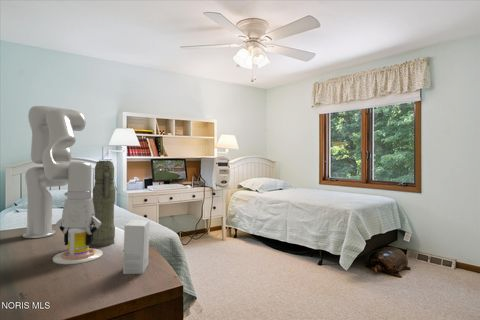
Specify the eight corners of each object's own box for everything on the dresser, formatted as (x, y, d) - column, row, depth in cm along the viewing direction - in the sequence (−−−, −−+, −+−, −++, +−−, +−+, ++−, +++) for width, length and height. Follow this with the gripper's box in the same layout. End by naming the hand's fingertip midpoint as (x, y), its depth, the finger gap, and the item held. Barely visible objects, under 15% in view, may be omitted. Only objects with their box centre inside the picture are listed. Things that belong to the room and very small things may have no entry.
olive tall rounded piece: (96, 248, 119) (98, 161, 119) (88, 242, 128) (89, 160, 127) (119, 244, 125) (120, 161, 125) (109, 238, 133) (110, 160, 133)
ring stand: (47, 256, 109) (47, 251, 109) (94, 247, 120) (94, 243, 120) (59, 267, 97) (59, 263, 97) (109, 257, 109) (109, 252, 109)
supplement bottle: (92, 253, 111) (93, 218, 111) (79, 258, 105) (79, 222, 105) (77, 251, 113) (78, 217, 113) (63, 257, 106) (63, 221, 106)
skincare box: (129, 265, 101) (130, 219, 101) (149, 265, 102) (150, 219, 102) (122, 274, 93) (123, 224, 93) (144, 274, 93) (144, 224, 93)
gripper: (49, 196, 105) (48, 246, 105) (97, 197, 105) (97, 248, 105) (62, 194, 113) (61, 241, 113) (107, 195, 112) (106, 242, 112)
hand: (78, 244), depth 109 cm, fingers open, 7 cm apart
